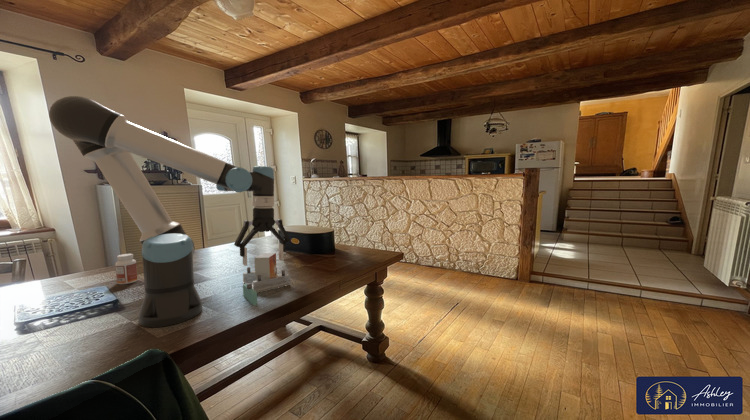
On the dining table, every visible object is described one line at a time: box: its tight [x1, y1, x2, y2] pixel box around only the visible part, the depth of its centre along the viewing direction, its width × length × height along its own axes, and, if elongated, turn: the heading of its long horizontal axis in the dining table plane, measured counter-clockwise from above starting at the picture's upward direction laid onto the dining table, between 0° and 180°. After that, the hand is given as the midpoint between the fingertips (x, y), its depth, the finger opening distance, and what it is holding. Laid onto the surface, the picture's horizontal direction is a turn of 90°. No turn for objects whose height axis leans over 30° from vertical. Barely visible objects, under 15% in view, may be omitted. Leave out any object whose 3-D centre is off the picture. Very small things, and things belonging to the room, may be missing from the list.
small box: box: [254, 252, 278, 281], centre depth 109 cm, size 8×6×10 cm
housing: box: [242, 266, 291, 294], centre depth 109 cm, size 13×15×6 cm
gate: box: [242, 283, 258, 306], centre depth 94 cm, size 2×11×5 cm, turn 40°
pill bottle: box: [114, 253, 138, 286], centre depth 111 cm, size 6×6×11 cm
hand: (263, 262), depth 108 cm, fingers open, 13 cm apart
